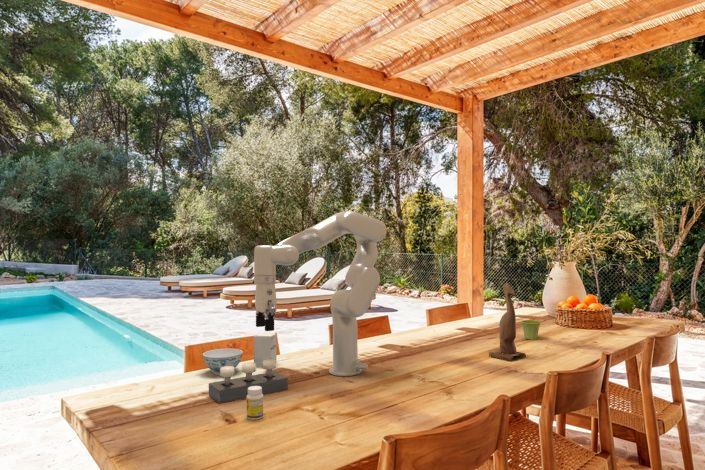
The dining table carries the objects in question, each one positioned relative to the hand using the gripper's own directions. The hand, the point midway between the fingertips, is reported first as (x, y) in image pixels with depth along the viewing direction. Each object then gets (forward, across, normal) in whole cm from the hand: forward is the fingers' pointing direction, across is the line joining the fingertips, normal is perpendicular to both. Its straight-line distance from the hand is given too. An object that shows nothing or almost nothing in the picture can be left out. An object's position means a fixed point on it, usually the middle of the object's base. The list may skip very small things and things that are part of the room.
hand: (264, 328), depth 171 cm
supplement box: (+20, +27, -9) cm, 35 cm away
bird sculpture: (+19, -15, -103) cm, 106 cm away
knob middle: (+16, -5, +7) cm, 18 cm away
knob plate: (+20, -5, +7) cm, 22 cm away
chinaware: (+20, +24, +8) cm, 33 cm away
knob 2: (+16, -5, 0) cm, 17 cm away
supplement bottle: (+20, -29, +13) cm, 37 cm away
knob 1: (+16, -6, +15) cm, 23 cm away
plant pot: (+19, +7, -143) cm, 145 cm away
